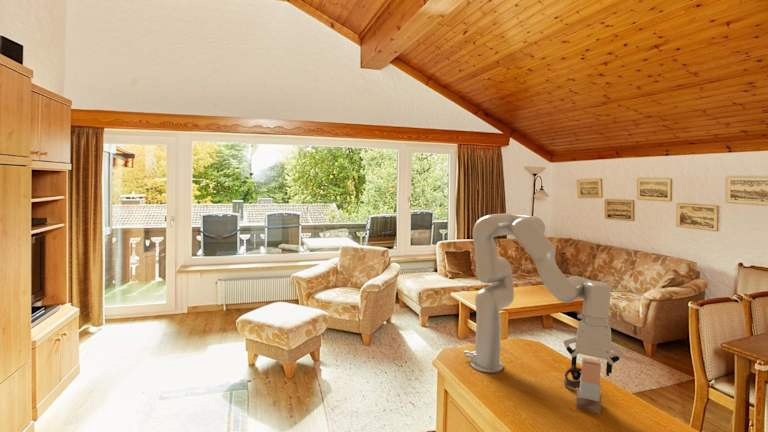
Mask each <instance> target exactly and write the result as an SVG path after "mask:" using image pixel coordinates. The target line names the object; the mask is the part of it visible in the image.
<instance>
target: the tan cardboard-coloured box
mask: <svg viewBox="0 0 768 432" xmlns="http://www.w3.org/2000/svg"><path fill="white" fill-rule="evenodd" d="M575 401H576V403H575V406H576V410H579V411H584V412H587V413H593V414H597V415H602V414H601V413H602V412H601V411H602V397H601V394H600V398H599V401H594V400H589V399H585V398H580V388H576V399H575Z"/></svg>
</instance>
